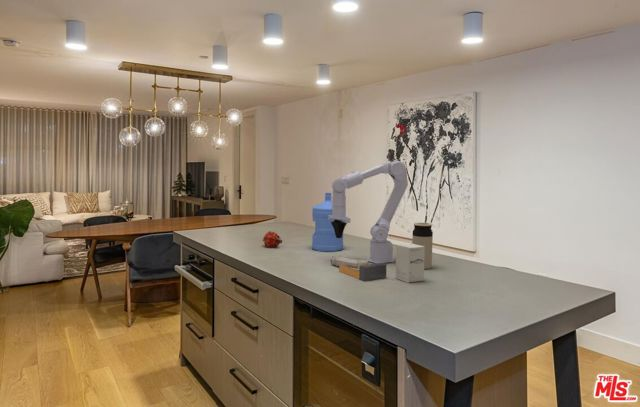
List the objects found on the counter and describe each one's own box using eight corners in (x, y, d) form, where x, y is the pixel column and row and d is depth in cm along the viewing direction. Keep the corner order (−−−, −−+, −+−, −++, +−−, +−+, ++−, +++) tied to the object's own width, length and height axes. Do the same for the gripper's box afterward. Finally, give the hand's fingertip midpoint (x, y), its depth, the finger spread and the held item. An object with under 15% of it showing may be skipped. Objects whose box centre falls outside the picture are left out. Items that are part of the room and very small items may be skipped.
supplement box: (408, 283, 153) (409, 247, 152) (395, 278, 159) (395, 244, 158) (424, 280, 156) (425, 246, 155) (411, 276, 163) (412, 243, 162)
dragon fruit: (267, 247, 228) (278, 254, 218) (256, 239, 223) (267, 246, 213) (276, 234, 229) (288, 240, 220) (265, 226, 224) (277, 232, 215)
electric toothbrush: (339, 255, 183) (373, 257, 161) (340, 271, 183) (374, 276, 161) (328, 256, 181) (361, 259, 158) (329, 272, 180) (362, 277, 158)
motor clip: (359, 268, 175) (359, 256, 174) (386, 277, 160) (386, 264, 160) (338, 271, 170) (338, 258, 169) (364, 281, 155) (364, 267, 155)
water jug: (348, 248, 220) (349, 192, 217) (333, 253, 206) (333, 194, 204) (322, 245, 228) (323, 191, 226) (305, 249, 215) (306, 193, 213)
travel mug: (435, 267, 178) (436, 223, 177) (425, 270, 172) (426, 225, 171) (418, 264, 184) (419, 222, 182) (407, 267, 178) (409, 223, 176)
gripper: (322, 205, 190) (322, 236, 191) (340, 208, 178) (340, 241, 179) (336, 204, 194) (335, 235, 195) (354, 207, 181) (354, 239, 182)
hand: (338, 237), depth 187 cm, fingers closed
